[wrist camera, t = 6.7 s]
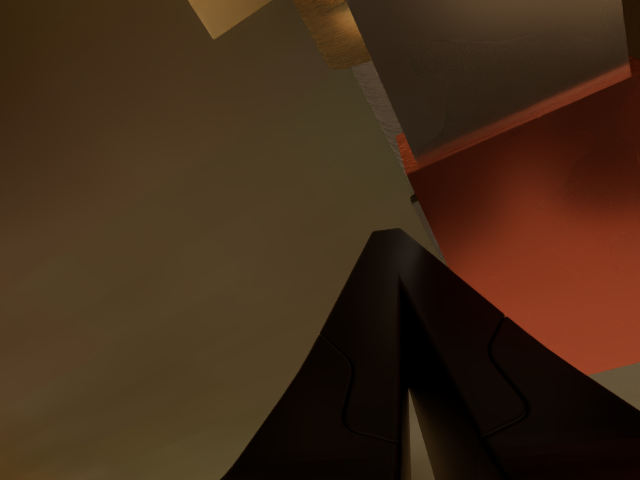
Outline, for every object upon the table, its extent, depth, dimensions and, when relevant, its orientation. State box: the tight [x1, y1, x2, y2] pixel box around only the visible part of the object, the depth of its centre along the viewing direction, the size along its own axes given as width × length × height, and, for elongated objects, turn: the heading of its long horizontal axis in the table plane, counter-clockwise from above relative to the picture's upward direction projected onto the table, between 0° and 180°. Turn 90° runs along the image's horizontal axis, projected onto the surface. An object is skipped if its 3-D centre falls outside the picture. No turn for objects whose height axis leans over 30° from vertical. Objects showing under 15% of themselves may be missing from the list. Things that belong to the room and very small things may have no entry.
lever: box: [346, 0, 640, 375], centre depth 6 cm, size 15×4×2 cm, turn 28°
